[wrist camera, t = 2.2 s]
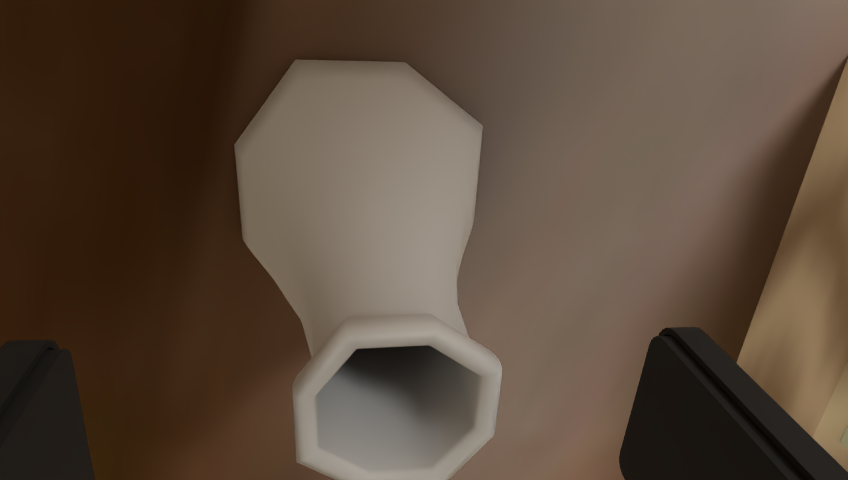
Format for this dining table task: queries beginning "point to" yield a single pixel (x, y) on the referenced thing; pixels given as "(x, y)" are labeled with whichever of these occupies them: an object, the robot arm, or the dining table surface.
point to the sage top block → (845, 439)
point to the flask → (372, 265)
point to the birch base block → (810, 297)
